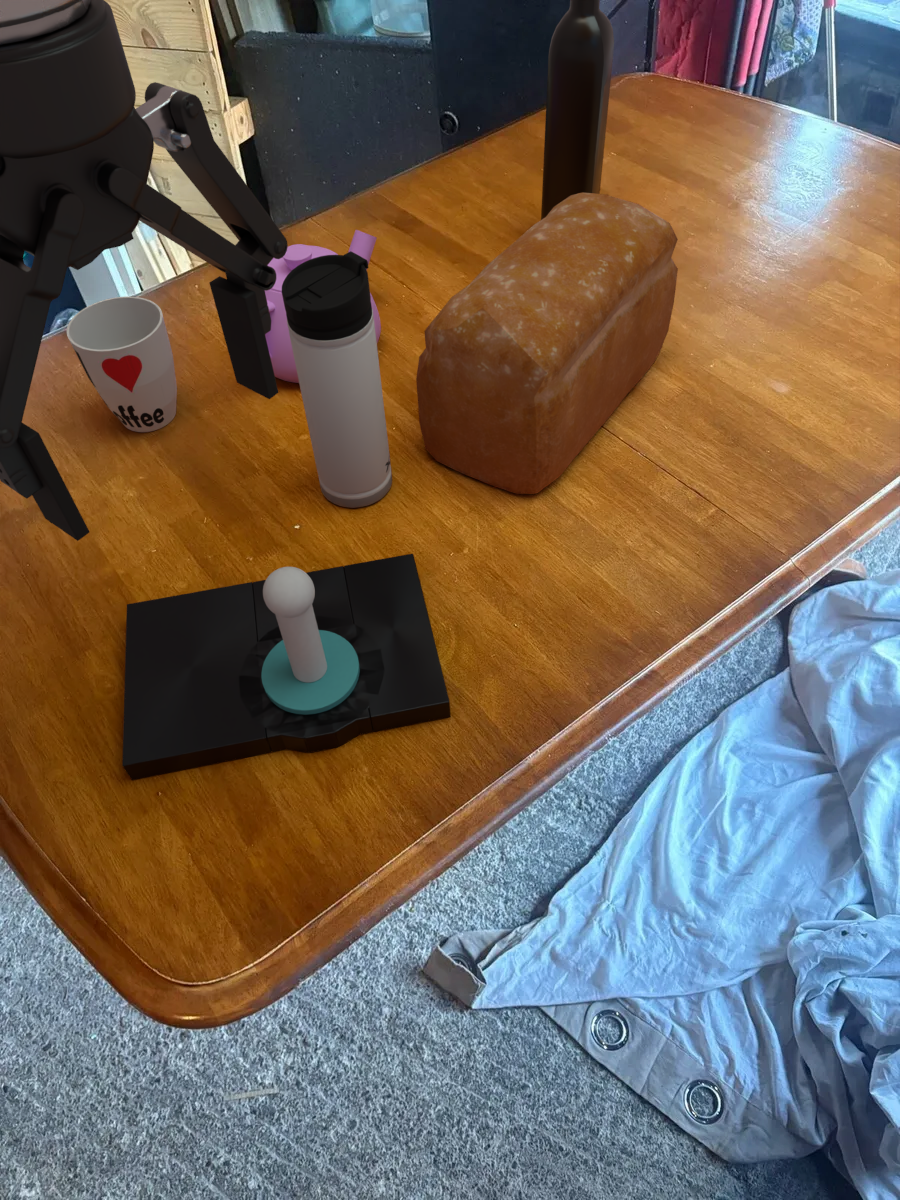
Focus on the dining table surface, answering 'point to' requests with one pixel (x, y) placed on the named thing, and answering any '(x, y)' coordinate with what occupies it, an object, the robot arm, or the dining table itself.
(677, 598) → the dining table surface
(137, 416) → the cup
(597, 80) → the wine bottle
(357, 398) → the travel mug
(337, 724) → the plate
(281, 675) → the stopper
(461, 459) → the bread
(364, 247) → the teapot
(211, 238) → the robot arm
